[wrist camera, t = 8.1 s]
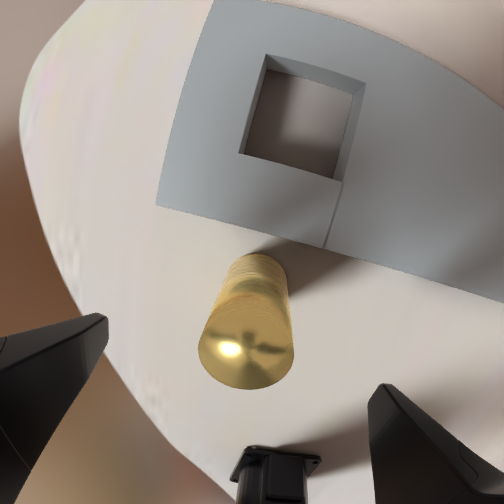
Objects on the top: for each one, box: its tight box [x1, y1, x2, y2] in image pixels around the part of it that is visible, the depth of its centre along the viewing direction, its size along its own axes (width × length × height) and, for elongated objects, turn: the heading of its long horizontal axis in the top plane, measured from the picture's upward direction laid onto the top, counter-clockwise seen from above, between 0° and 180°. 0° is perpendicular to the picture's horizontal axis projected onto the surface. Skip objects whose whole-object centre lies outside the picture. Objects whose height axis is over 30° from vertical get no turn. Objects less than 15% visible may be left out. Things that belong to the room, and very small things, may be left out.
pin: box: [198, 254, 294, 390], centre depth 11 cm, size 3×3×6 cm
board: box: [156, 0, 504, 303], centre depth 11 cm, size 10×32×2 cm, turn 76°
